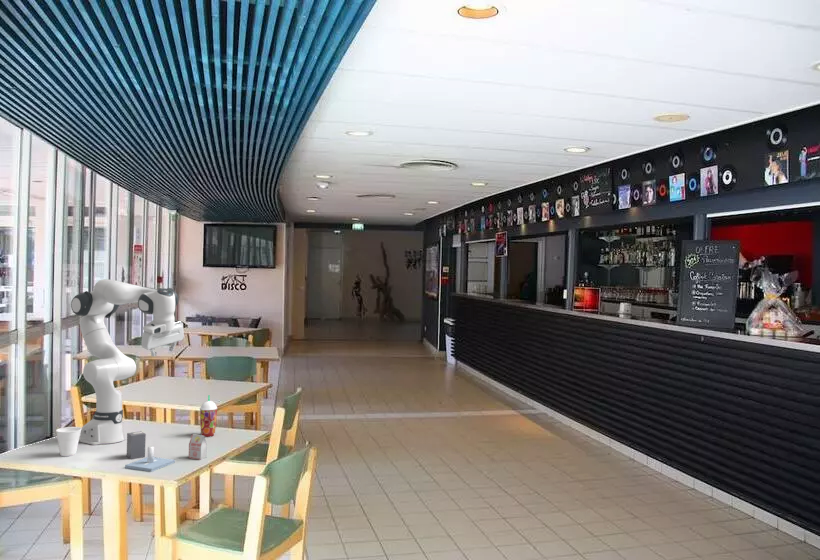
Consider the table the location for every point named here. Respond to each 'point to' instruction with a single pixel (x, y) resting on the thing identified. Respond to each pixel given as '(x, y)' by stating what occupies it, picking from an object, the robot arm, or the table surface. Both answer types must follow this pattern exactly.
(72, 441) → the cup
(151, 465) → the panel
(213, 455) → the table surface
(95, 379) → the robot arm
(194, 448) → the white paper bag
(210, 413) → the smoothie
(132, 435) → the tall gray block
